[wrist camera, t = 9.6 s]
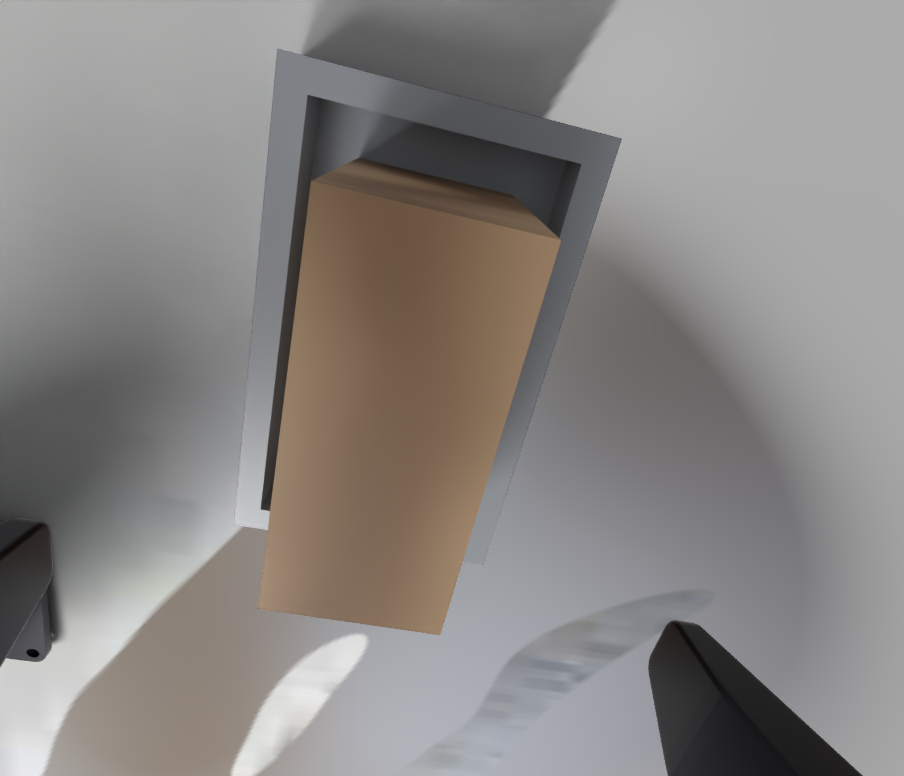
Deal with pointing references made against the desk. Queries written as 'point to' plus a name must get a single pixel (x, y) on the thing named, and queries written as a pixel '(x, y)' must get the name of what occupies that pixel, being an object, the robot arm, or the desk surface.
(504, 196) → the walnut block
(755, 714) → the robot arm
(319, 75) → the slot tray
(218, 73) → the desk surface
